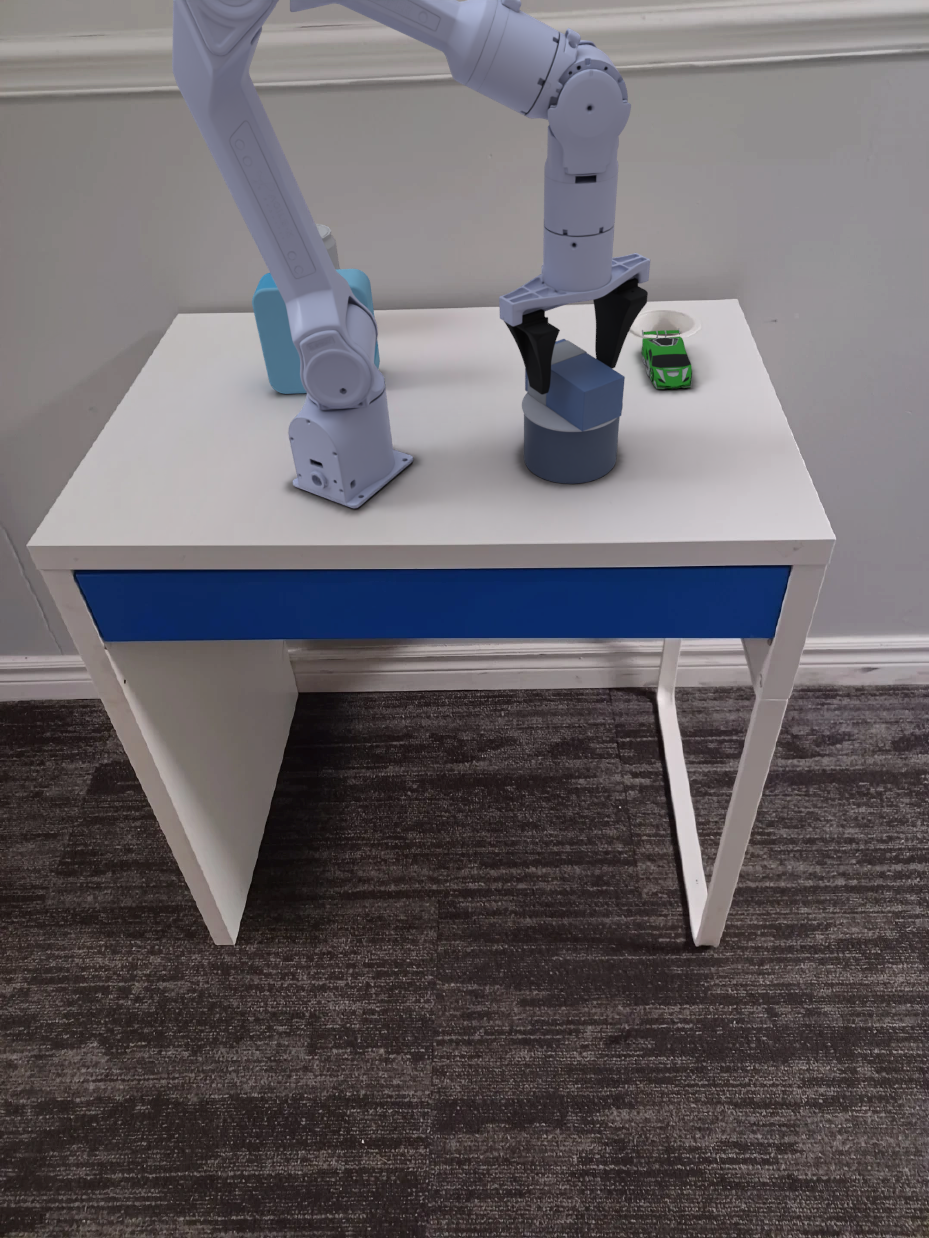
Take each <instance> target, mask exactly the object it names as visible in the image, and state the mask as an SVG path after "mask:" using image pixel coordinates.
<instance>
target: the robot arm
mask: <svg viewBox="0 0 929 1238" xmlns="http://www.w3.org/2000/svg"><path fill="white" fill-rule="evenodd" d="M279 1H280V0H172V53H171V54H172V57H171V59H172V60H171V63H172V64H171V69H172V74H173V77H174V80H175V83H176V86H177V88H178V90H179V92H180V94H181V96H182V97H183V101H184V102H185V104H186V106H187V108H188V110H189V112H190V114H191V116H192V118H193V120H194V122H195V124H196V126H197V128H198V130H199V132H200V134H201V137H202V139H203V140H204V142H205V144H206V146H207V148H208V151H209V152H210V154H211V156H212V158H213V161H214V162H215V165H216V167H217V168H218V171H219V173H220V175H221V177H222V179H223V181H224V182H225V185H226V187H227V189H228V192H229V193H230V195H231V197H232V199H233V201H234V203H235V205H236V207H237V209H238V211H239V213H240V216H241V217H242V219H243V221H244V223H245V225H246V227H247V229H248V231H249V233H250V235H251V237H252V239H253V241H254V243H255V245H256V247H257V250H258V252H259V253H260V255H261V257H262V259H263V261H264V264H265V266H266V267H267V269H268V273H270V274H271V276H272V278H273V280H274V282H275V284H276V286H277V288H278V290H279V292H280V294H281V296H282V298H283V300H284V302H285V304H286V309H287V314H288V319H289V325H290V331H291V336H292V340H293V343H294V345H295V347H296V349H297V351H298V353H299V357H300V363H301V364H300V377H301V381H302V384H303V386H304V388H305V390H306V392H307V393H306V396H305V400H304V403H303V405H302V407H301V409H300V410H299V412H298V413H297V415H296V416H295V417H294V418H292V420H291V421H290V423H289V425H288V432H287V433H288V441H289V444H290V449H291V454H292V458H293V464H294V468H295V472H296V477H295V478H293V480H292V486H293V487H295V488H297V489H301V490H303V491H306V492H308V493H311V494H314V495H316V496H318V497H321V498H323V499H326V500H329V501H332V502H335V503H337V504H340V505H343V506H345V507H348V508H349V509H350V508H351V509H358V508H360V507H361V506H362V505H363V504H364V503H365V502H367V501H368V500H369V499H370V498H371V497H373V496H374V495H375V494H376V493H378V491H380V490H381V489H382V488H383V487H384V486H386V485H387V484H388V483H389V482H390V481H391V480H393V479H394V478H395V477H397V475H399V474H400V473H401V472H402V471H404V470H405V469H406V468H407V467H408V466H409V465H411V464H412V463H413V462H414V456H413V455H411V454H408V453H405V452H402V451H400V450H396V449H394V445H393V437H392V429H391V420H390V413H389V406H388V405H389V404H388V397H387V396H388V395H387V390H386V388H387V387H386V380H385V376H384V374H383V373H382V372H381V371H380V370H378V368H377V367H376V366H375V364H374V354H375V346H376V341H378V338H379V337H378V336H379V328H378V327H379V326H378V323H377V321H376V317H375V318H374V316H375V315H374V316H373V315H372V313H371V312H370V310H369V309H368V308H367V307H366V306H364V305H363V304H362V303H361V302H359V301H358V299H357V298H356V297H355V296H354V294H353V293H352V291H351V289H350V286H349V284H348V282H347V280H346V279H344V278H343V277H342V276H341V275H340V274H339V273H338V272H337V271H336V270H335V267H334V265H333V263H332V261H331V258H330V256H329V254H328V252H327V249H326V247H325V245H324V243H323V240H322V238H321V236H320V234H319V231H318V229H317V227H316V224H317V223H316V222H315V221H314V217H313V215H312V214H311V211H310V209H309V206H308V204H307V202H306V199H305V198H304V196H303V193H302V190H301V188H300V186H299V184H298V181H297V179H296V176H295V175H294V172H293V170H292V168H291V166H290V164H289V161H288V159H287V157H286V154H285V152H284V150H283V148H282V146H281V143H280V141H279V138H278V136H277V134H276V132H275V130H274V127H273V124H272V123H271V121H270V118H269V116H268V113H267V111H266V109H265V107H264V105H263V102H262V100H261V98H260V96H259V93H258V91H257V89H256V87H255V84H254V82H253V80H252V78H251V75H250V68H251V64H252V61H253V58H254V55H255V53H256V50H257V46H258V44H259V40H260V37H261V33H262V31H263V26H264V24H265V23H266V22H267V20H268V18H269V17H270V15H271V14H272V13H273V11H274V9H275V8H276V6H277V4H278V3H279ZM332 4H333V5H334V4H336V5H339V6H342V7H345V8H347V9H349V10H351V11H353V12H356V13H358V14H360V15H362V16H364V17H366V18H368V19H371V20H372V21H375V22H377V23H379V24H382V25H384V26H386V27H388V28H390V29H392V30H395V31H397V32H399V33H401V34H403V35H405V36H408V37H410V38H413V39H415V40H416V41H418V42H421V43H423V44H425V45H427V46H429V47H431V48H434V49H436V50H438V51H440V52H442V53H443V55H444V56H445V58H446V61H447V64H448V65H447V66H448V68H449V72H450V74H451V77H452V78H453V80H454V81H455V82H456V83H458V84H461V85H463V86H465V87H467V88H469V89H471V90H473V91H475V92H477V93H478V94H481V95H483V96H485V97H487V98H489V99H491V100H493V101H494V102H497V104H500V105H502V106H505V107H506V108H508V109H510V110H512V111H514V112H516V113H518V114H520V115H522V116H524V117H526V118H528V119H531V120H532V119H541V120H542V119H543V120H546V121H547V122H548V125H547V143H546V145H547V146H546V147H547V148H546V149H547V151H546V153H547V154H546V159H545V162H544V168H543V169H544V171H543V172H544V173H543V175H544V177H543V179H544V180H543V183H544V184H543V237H542V238H543V242H542V243H543V246H542V248H543V249H542V251H543V252H542V254H543V255H542V265H541V268H540V269H541V270H540V274H538V275H537V276H535V277H533V278H532V279H530V280H529V281H527V282H525V283H523V284H522V285H520V286H519V287H517V288H515V289H514V290H512V291H510V292H508V293H506V294H505V293H504V294H503V295H500V296H499V297H498V303H499V304H498V305H499V319H500V320H501V321H503V322H504V324H505V326H506V327H507V329H508V330H509V331H510V334H511V336H512V337H513V340H514V341H515V343H516V346H517V348H518V351H519V353H520V356H521V358H522V362H523V365H524V369H525V368H526V372H527V376H528V380H529V385H530V387H531V388H533V389H534V390H536V391H537V392H538V393H540V394H542V395H543V394H546V393H548V392H549V388H550V381H551V361H552V355H553V350H554V346H555V342H556V341H557V339H558V337H559V334H560V331H561V329H559V328H558V327H556V326H555V325H553V324H551V323H550V322H549V317H548V316H546V312H548V311H551V310H554V309H556V308H559V307H563V306H565V305H569V304H574V303H581V302H583V303H584V302H589V301H593V307H594V317H595V318H594V319H595V340H594V341H595V343H594V344H595V346H594V347H595V348H594V349H595V351H594V352H595V358H596V359H597V360H599V361H601V362H602V363H604V364H605V365H607V366H609V367H610V368H612V369H613V370H614V369H615V368H616V366H617V363H618V361H619V358H620V355H621V352H622V349H623V347H624V344H625V341H626V340H627V336H628V334H629V331H630V330H631V328H632V326H633V324H634V323H635V322H636V319H637V317H638V316H639V314H640V313H641V311H642V310H643V309H644V308H645V306H646V305H647V304H648V296H649V293H648V291H647V289H645V288H642V287H640V286H639V284H644V283H646V282H649V279H650V270H651V269H650V268H651V259H650V258H649V257H646V256H644V255H642V254H639V253H638V252H634V253H630V254H626V255H621V256H613V254H614V237H615V223H616V209H617V197H618V196H617V194H618V179H619V161H618V151H619V145H620V137H619V136H621V134H622V132H623V131H624V129H625V128H626V126H627V123H628V121H629V118H630V114H631V110H632V104H631V103H630V102H629V95H628V89H627V88H628V87H627V85H626V82H625V80H624V79H623V76H622V74H621V73H620V71H619V70H618V68H617V67H616V65H615V64H614V63H613V61H612V60H611V57H609V55H608V54H607V53H605V52H604V51H603V50H602V49H600V48H598V47H597V45H596V44H595V43H594V41H592V40H587V39H582V37H581V35H580V33H579V32H577V31H576V30H574V29H571V28H570V27H568V28H566V30H565V32H564V33H563V32H561V31H559V30H558V29H556V28H554V27H552V26H550V25H548V24H546V23H545V22H543V21H541V20H539V19H537V18H536V17H534V16H532V15H530V14H528V13H526V12H525V11H523V10H521V7H522V0H462V1H459V0H289V11H290V13H297V12H301V11H305V10H310V9H314V8H319V7H323V6H328V5H332Z"/></svg>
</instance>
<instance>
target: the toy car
mask: <svg viewBox="0 0 929 1238" xmlns="http://www.w3.org/2000/svg"><path fill="white" fill-rule="evenodd" d="M671 334H679V336H669V337H667V335H671ZM648 335H653V336H654V335H656V337H644V336H648ZM659 335H664V337H659ZM680 335H681V329H680V328H678V329H669V330H666V329H665V330H663V329H661V330H650V331H649V330H648V331H647V330H646V331H644V330H643V329H642V330H641V336H642V343H641V357H642V358H641V360H642V362H643V364H644V365H645V366H646V368H645V369H646V374H647V377H649V378H650V382H651V383H652V385H653V387H655V389H656V390H657V389H658V390H665V389H670V390H673V389H675V390H676V389H680V388H682V389H685V388H692V383H693V378H692V377H693V366H692V363H691V361H690V358H689V357H688V353H687V350H686V347H685V342H684V339H683V338H682V337H681V336H680Z"/></svg>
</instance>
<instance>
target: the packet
mask: <svg viewBox="0 0 929 1238" xmlns="http://www.w3.org/2000/svg"><path fill="white" fill-rule="evenodd" d="M625 381H626V377H625V375H623V374H621V373H619V372H618V371H617V370H615V369H614V368H613V369H612V368H610V367H609V366H607V365H605V364H604V363H602V362H601V361H599V360H597V359H596V357H594V356H593V355H591V354H589V353H588V352H587V351H586V350H584V349H583V348H581V347H579V346H578V345H576V344H575V343H573V342H572V341H570V340H569V339H568V340H567V339H566V338H562V339H558V340H556V342H555V346H554V350H553V355H552V361H551V381H550V388H549V392H548V393H546V394H543V395H542V394H540V393H538V392H537V391H536V390H534V389H533V388H531V387H530V385H529V380H528V376H527V372H526V368H525V367H524V383H525V384H524V390H525V392H526V393H527V392H528V394H530V395H531V396H532V397H534V398H535V399H537V400H538V401H539V402H541V403H542V404H543V405H545V406H547V407H549V408H550V409H552V410H553V411H554V412H556V413H557V414H559V415H560V416H561V417H563V418H564V419H566V420H567V421H568V422H570V423H571V424H572V425H574V426H575V427H577V428H578V429H579V430H581V431H585V430H588V429H590V428H593V427H595V426H598V425H600V424H603V423H605V422H608V421H610V420H613V419H615V418H618V417H620V418H621V417H622V412H623V408H622V403H623V402H624V401H623V400H624V392H625V391H624V390H625ZM623 404H624V403H623Z"/></svg>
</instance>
